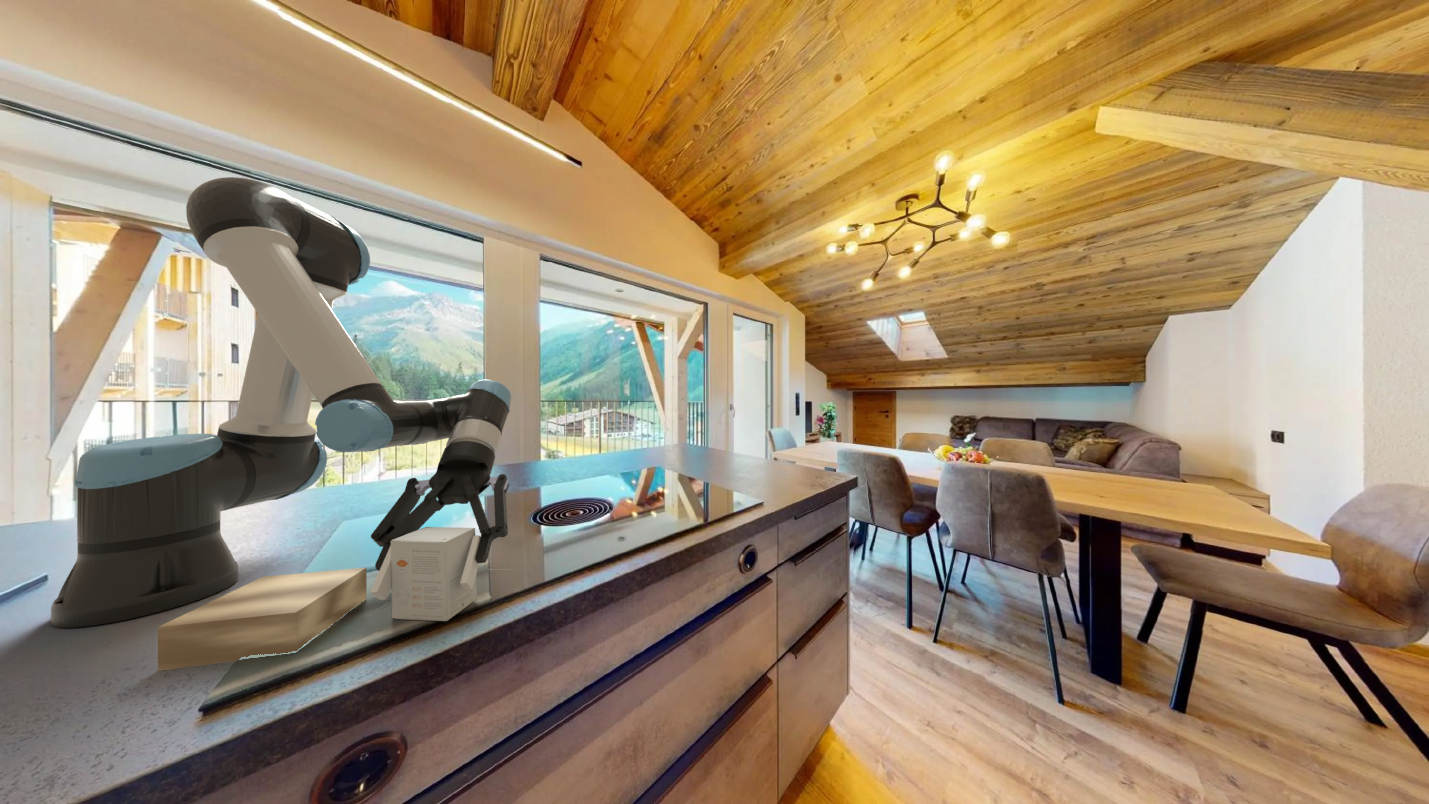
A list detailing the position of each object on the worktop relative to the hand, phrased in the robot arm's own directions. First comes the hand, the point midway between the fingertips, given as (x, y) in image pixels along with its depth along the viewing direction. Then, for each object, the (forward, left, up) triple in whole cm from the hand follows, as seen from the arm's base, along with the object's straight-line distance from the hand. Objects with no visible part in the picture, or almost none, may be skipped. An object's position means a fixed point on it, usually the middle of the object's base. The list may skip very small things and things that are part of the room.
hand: (423, 591), depth 49 cm
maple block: (-4, -17, -4) cm, 18 cm away
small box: (-3, 0, -4) cm, 5 cm away
